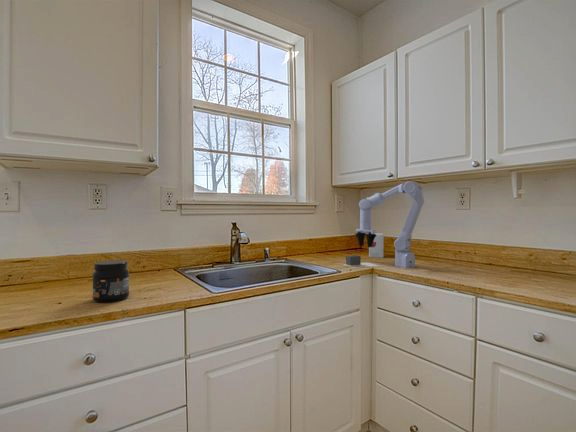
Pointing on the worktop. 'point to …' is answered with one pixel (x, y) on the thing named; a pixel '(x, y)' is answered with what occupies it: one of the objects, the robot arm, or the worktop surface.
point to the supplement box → (377, 246)
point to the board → (364, 265)
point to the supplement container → (110, 281)
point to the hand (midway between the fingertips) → (365, 246)
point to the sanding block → (353, 260)
